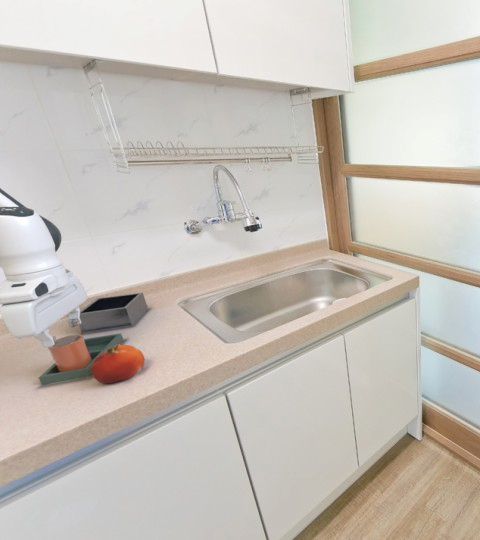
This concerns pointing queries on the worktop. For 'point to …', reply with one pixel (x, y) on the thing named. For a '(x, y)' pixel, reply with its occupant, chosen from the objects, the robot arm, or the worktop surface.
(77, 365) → the cup
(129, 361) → the tomato
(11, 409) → the worktop surface
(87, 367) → the tray
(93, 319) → the basin
